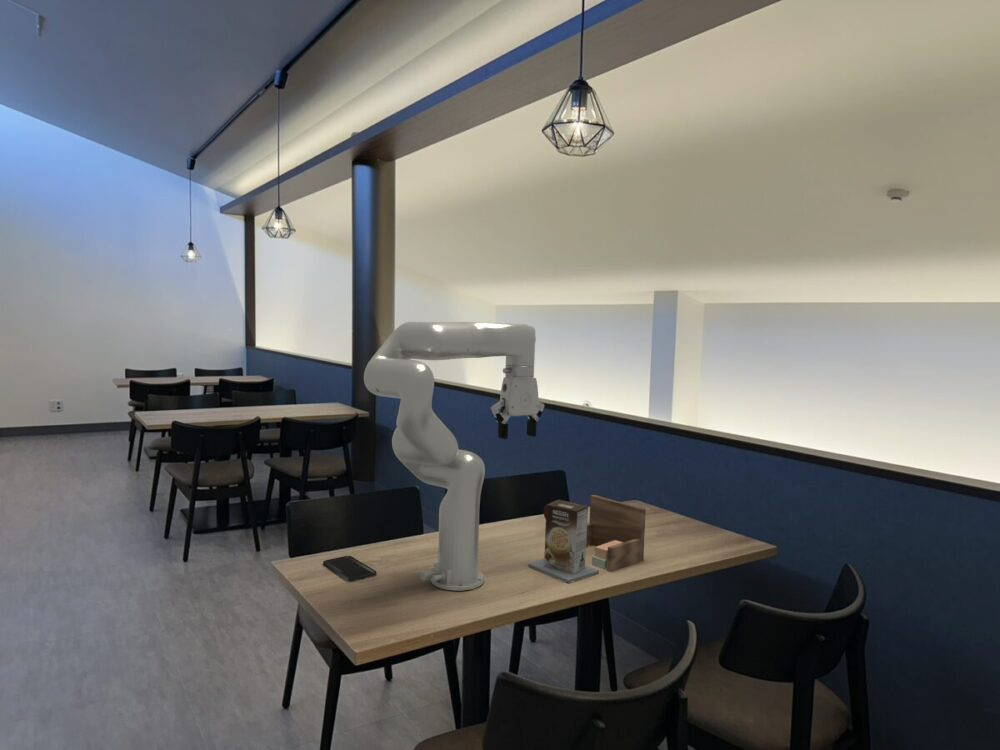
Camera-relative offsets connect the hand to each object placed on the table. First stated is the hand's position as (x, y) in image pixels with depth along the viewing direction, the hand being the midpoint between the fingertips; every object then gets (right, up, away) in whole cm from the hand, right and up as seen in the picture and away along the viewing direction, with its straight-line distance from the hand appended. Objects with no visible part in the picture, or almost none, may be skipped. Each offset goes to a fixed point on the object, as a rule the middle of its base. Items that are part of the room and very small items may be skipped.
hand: (517, 437), depth 174 cm
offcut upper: (+25, -31, 0) cm, 40 cm away
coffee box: (+12, -33, -7) cm, 35 cm away
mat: (+11, -33, -7) cm, 36 cm away
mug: (+13, -31, +29) cm, 44 cm away
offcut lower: (+24, -34, 0) cm, 41 cm away
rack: (+22, -33, +4) cm, 40 cm away
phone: (-42, -32, -11) cm, 54 cm away
